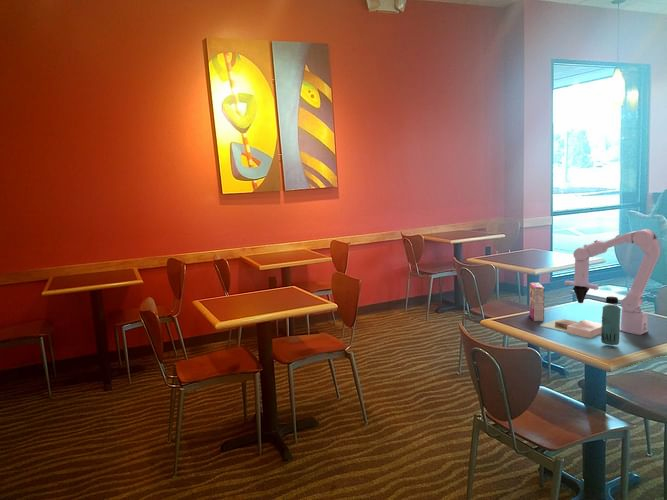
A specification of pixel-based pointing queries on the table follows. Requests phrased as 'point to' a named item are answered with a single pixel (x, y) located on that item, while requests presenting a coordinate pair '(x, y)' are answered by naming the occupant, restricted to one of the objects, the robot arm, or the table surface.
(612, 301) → the beverage bottle
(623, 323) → the robot arm
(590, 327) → the pale pink flat block
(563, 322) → the walnut tile
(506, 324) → the table surface
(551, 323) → the mat
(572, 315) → the table surface
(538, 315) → the candy bar box
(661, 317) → the table surface
